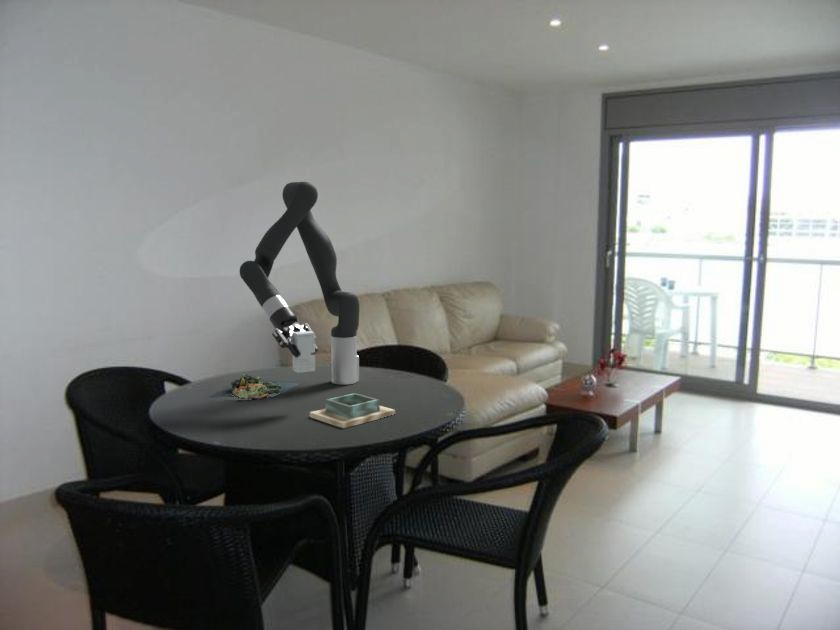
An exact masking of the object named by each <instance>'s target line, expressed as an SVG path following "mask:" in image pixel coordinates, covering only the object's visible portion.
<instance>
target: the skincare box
mask: <svg viewBox="0 0 840 630" xmlns="http://www.w3.org/2000/svg"><path fill="white" fill-rule="evenodd" d="M293 335H294V338H293V342H294V344H295V345H296V347H297V348H298V350H299V351H300V353H301V354H300V356H299V357H297V358H296V357H295V356H294V355H293V354H292V353H291V355H292V357H291V358H292V371H293V372H295V373H297V374H299V373H300V374H301V373H307V372H315V371H316V353H315V344H316V338H315V336H316V333H315V331H313V332H311V331H301V332H293Z"/></svg>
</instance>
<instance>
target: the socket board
mask: <svg viewBox="0 0 840 630" xmlns="http://www.w3.org/2000/svg"><path fill="white" fill-rule="evenodd" d="M380 401H381V400H380V399H378V398H374V397H371V396H368V395H364V394H363V395H362V394H360V393H355V392H354V393H350V394H345V395H340V396H336V397H332V398H327V399H325V408H322V409H318V410H312V411H309V418H311V419H314V420H317V421H321V422H323V423H326V424H329V425H332V426H335V427H338V428H341V429H346V428H350V427H354V426H358V425H362V424H365V423H369V422H373V421H376V420H380V418H381V419H384V417H385V418H388V417H392V416H395V415H396V409H394V408H390V407H386V406H383V405H380V403H381V402H380ZM394 414H395V415H394ZM391 415H392V416H391ZM387 416H388V417H387Z"/></svg>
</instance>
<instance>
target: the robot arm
mask: <svg viewBox="0 0 840 630" xmlns="http://www.w3.org/2000/svg"><path fill="white" fill-rule="evenodd" d="M318 196H319V194H318V189H317V187H316V186H315V185H314V184H313V183H312V182H307V181H293V182H289V183H287V184H285V186H284V187H283V189H282V200H283V203H284V205H285V207H286V210H285V212H284V213H283V214H282V216H280V217H279V218H278V220H277V221H275V223H273V224H272V225H271V226H270V227H269V228H268V230H266V232H265V233H264V235H263V236H262V238H261V239H260V241H259V243H258V244H257V245H256V248H255V251H254V254H255V258H254V260H246V261H244V262H242V264H241V265H240V267H239V277H240V278H241V279H242V281H243V283H244V284H245V285H246V286H247V287H248V289H249V291H251V292H252V294H253V295H254V297H255V299H256V301H257V303H259V305H260V307H261V308H262V310H263V311H264V314H265V315H266V317H267V319H268V320H269V321H270V323H271V324H272V326H273V327H274V328H275V329H274V331H273V332H272V337H273V338H274V339H275V341H276V342H277V343H278V345H279V346H280V347H281V348H282V349H285V348H286V349H288V350H289V352H290V353H291V355H292V354H293V355H294V356H295V357H296V358H297V357H299V356H300V354H301V353H300V351H299V350H298V348H297V347H296V345H295V344H294V342H293V338H294V335H293V332H301V331H311V332H314V331H313V329H312V328H311V327H310V325H309V323H307V322H305V323H304V324H300V323H299V322H298V317H297V314H295V312H294V311H293V309H292V308H291V306H290V305H289V304H288V302H287V300H285V299H284V297H283V296H282V295H281V293H280V292H279V290H278V289H277V288H276V287H275V286H274V284H273V283H272V282H271V280H270V279H269V276H270V274H271V272H272V269H273V266H274V264H275V260H276V258H277V257H278V255H279V254H280V252H281V251H282V249H283V247H284V246H285V244H286V242H287V241H288V239H289V238H290V236H291V234H292V233H293V232H294V231H295V229H296V228H297V230H298V233H299V236H300V239H301V240H302V243H303V245H304V248H305V251H306V254H307V256H308V259H309V261H310V264H311V266H312V268H313V270H314V273H315V276H316V278H317V280H318V283H319V286H320V290H321V293H322V296H323V300H324V303H325V307H326V309H327V311H328V312H329V314H330V315H332V316H334V317H338V321H337V322H338V323H337V324H336V326H333V327H332V328H331V330H330V343H331V345H330V347H331V360H330V361H331V384H334V385H345V386H346V385H352V384H356V383H357V382H359V381H360V357H359V355H358V353H357V352H358V351H357V350H358V347H357V345H358V344H357V343H358V341H357V333H358V329H359V325H360V301H359V298H358V296H357V295H356V294H355V293H353V292H348V291H342V288H341V286H340V284H339V282H338V281H339V280H338V278H337V263H338V262H337V260H338V259H337V258H338V257H337V253H336V250H335V248H334V246H333V243H332V240H331V239H330V237H329V236H328V234H327V233H326V232H325V230H324V229H323V228H322V227H321V226H320V225H319V223H318V222H317V220H316V219H315V217H314V216H313V214H312V211H311V209H312V208H313V207H314V206H315V205H316V203H317V201H318ZM316 338H317V336H316V335H315V339H316ZM318 351H319V348H318V346H317V344H316V343H315V354H317V352H318Z"/></svg>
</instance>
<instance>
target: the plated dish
mask: <svg viewBox="0 0 840 630" xmlns="http://www.w3.org/2000/svg"><path fill="white" fill-rule="evenodd" d="M261 379H262V377H261V376H260V377H259V375H251V374H249V373H248V372H246V373H244V374H242V377H240V378H239V379H237V378H233V380H232V382H231V383H230V384H231V386H228V387H227V388H224V389H222V390H219V391H218V392H216V393H213V394H212V395H209V396H208V397H211V398H218V397H219V398H220V397H234V396H235V397H238V398H241V399H260V400H264V399H263V398H266V399H268V398H267V396H268V394H274V393H276V394H278V393H283V394H285V393H287V392H288V391H290V390H292V389H294V388H295V387H297V386H299V385H300V383H298V382H283V381H281V382H270V381H266V380H265V378H264V379H263V380H261ZM267 389H269V390H270V391H268V390H267ZM231 394H232V395H234V396H232V395H231Z"/></svg>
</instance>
